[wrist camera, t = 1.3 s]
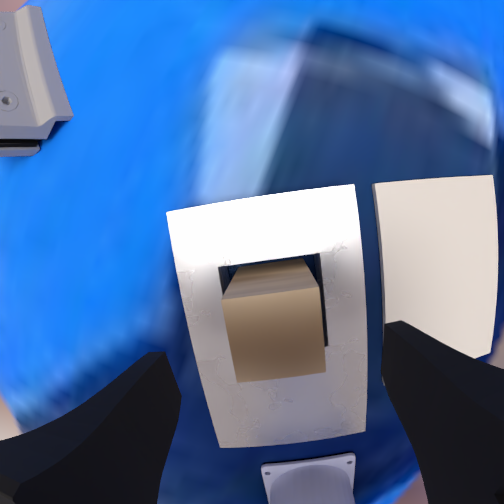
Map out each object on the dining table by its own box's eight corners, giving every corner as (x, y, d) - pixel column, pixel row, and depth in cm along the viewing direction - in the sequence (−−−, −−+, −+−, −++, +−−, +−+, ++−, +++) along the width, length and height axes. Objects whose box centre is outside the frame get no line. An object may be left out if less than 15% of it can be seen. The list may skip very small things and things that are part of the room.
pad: (486, 349, 19) (490, 352, 19) (382, 381, 20) (384, 385, 20) (488, 175, 17) (492, 175, 17) (371, 184, 18) (374, 183, 18)
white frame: (356, 407, 21) (365, 431, 18) (226, 422, 21) (220, 447, 18) (341, 187, 18) (354, 184, 15) (181, 210, 19) (166, 212, 16)
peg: (309, 318, 20) (326, 372, 13) (248, 326, 20) (237, 382, 13) (302, 258, 19) (319, 286, 12) (238, 266, 20) (220, 299, 13)
